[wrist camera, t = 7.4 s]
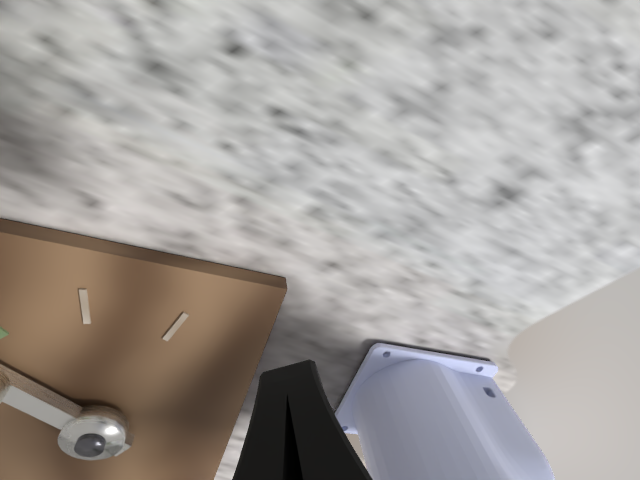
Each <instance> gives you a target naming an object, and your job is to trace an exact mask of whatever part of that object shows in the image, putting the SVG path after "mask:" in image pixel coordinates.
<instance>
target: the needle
mask: <svg viewBox="0 0 640 480" xmlns="http://www.w3.org/2000/svg"><path fill="white" fill-rule="evenodd" d="M1 402H4V403H6V404H8V405H10V406H12V407H14V408H17V409H19V410H21V411H23V412H25V413H27V414H29V415H31V416H33V417H35V418H37V419H39V420H41V421H43V422H46V423H48V424H50V425H52V426H54V427H56V428H58V429H60V430H61V432H60V434H59V436H58V445H59V447H60V448H61V450H62V451H64V452H65V453H66V454H68V455H70V456H72V457H75V458H78V459H83V460H101V459H105V458H109V457H111V456H118V455H119V454H121V453H122V452H124V451H126V450H127V449H129V448H130V447H132V443H133V439H134V436H135V435H134V434H132V433H130V432H128V429H129V421H128V419H127V417H126V416H125V415H124V414H123V413H121V412H120V411H118V410H116V409H114V408H110V407H106V406H96V405H95V406H86V407H81V406H79V405H77V404H75V403H73V402H71V401H69V400H68V399H66V398H64V397H62V396H60V395H58V394H56V393H54V392H52V391H51V390H49V389H47V388H45V387H43V386H41V385H39V384H37V383H36V382H34V381H32V380H30V379H28V378H26V377H24V376H22V375H20V374H19V373H17V372H15V371H13V370H11V369H9V368H7V367H5V366H3V365H2V364H0V404H1Z"/></svg>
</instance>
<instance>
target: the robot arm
mask: <svg viewBox="0 0 640 480" xmlns="http://www.w3.org/2000/svg"><path fill="white" fill-rule="evenodd" d="M386 351H387V352H386ZM384 352H386V353H384ZM497 371H498V367H497V365H496V364H495V363H494V362H490V361H484V360H478V359H472V358H466V357H460V356H454V355H448V354H443V353H437V352H431V351H425V350H419V349H413V348H407V347H401V346H395V345H389V344H383V343H377V344H374V345H373V346H372V347H371V348H370V350H369V352H368V354H367V355H366V357H365V359H364V361H363V363H362V365H361V366H360V368H359V370H358V372H357V374H356V376H355V377H354V379H353V381H352V383H351V385H350V387H349V388H348V390H347V392H346V394H345V396H344V398H343V400H342V401H341V403H340V405H339V407H338V409H337V411H336V412H335V414H334V412H333V410H332V408H331V406H330V404H329V402H328V399H327V397H326V395H325V393H324V390H323V387H322V383H321V380H320V377H319V374H318V371H317V367H316V364H315V362H314V361H312V360H307V361H303V362H299V363H296V364H292V365H288V366H285V367H281V368H277V369H274V370H270V371H266V372H263V373H262V375H261V376H260V380H259V386H258V391H257V395H256V400H255V404H254V408H253V412H252V416H251V420H250V424H249V428H248V431H247V435H246V438H245V441H244V445H243V448H242V451H241V455H240V458H239V461H238V464H237V468H236V471H235V473H234V476H233V479H232V480H555V477H554V474H553V472H552V469H551V467H550V465H549V462H548V460H547V459H546V457H545V455H544V453H543V452H542V450H541V449H540V447H539V446H538V445H537V443H536V442H535V440H534V439H533V437H532V436H531V434H530V433H529V431H528V430H527V429H526V427H525V425H524V424H523V423H522V421H521V419H520V418H519V417H518V415H517V414H516V412H515V411H514V409H513V408H512V406H511V405H510V403H509V402H508V400H507V399H506V397H505V396H504V395H503V393H502V392H501V390H500V389H499V387H498V386H497V384H496V383H495V381H494V380H493V377H494V375H495V374H496V373H497ZM345 433H351V434H358V436H359V440H360V444H361V448H362V451H363V455H364V459H365V463H366V467H367V470H366V468H365V466H364V465H363V463H362V462H361V460H360V458H359V457H358V455H357V454H356V452H355V450H354V449H353V447H352V445H351V444H350V442H349V440H348V438H347V436H346V435H345Z"/></svg>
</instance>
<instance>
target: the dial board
mask: <svg viewBox="0 0 640 480" xmlns="http://www.w3.org/2000/svg"><path fill="white" fill-rule="evenodd" d="M286 291H287V285H286V278H283V277H279V276H274V275H269V274H264V273H259V272H255V271H250V270H245V269H240V268H235V267H231V266H226V265H221V264H216V263H212V262H207V261H202V260H197V259H192V258H188V257H183V256H178V255H173V254H168V253H164V252H159V251H154V250H149V249H144V248H140V247H135V246H130V245H125V244H120V243H116V242H111V241H106V240H101V239H96V238H92V237H87V236H82V235H77V234H72V233H68V232H63V231H58V230H53V229H49V228H44V227H39V226H34V225H29V224H25V223H20V222H15V221H10V220H5V219H1V218H0V364H2V365H3V366H5V367H7V368H9V369H11V370H13V371H15V372H17V373H19V374H20V375H22V376H24V377H26V378H28V379H30V380H32V381H34V382H36V383H37V384H39V385H41V386H43V387H45V388H47V389H49V390H51V391H52V392H54V393H56V394H58V395H60V396H62V397H64V398H66V399H68V400H69V401H71V402H73V403H75V404H77V405H79V406H81V407H86V406H95V405H96V406H106V407H110V408H114V409H116V410H118V411H120V412H121V413H123V414H124V415H125V416H126V417H127V419H128V421H129V429H128V432H130V433H132V434H134V435H135V436H134V439H133V443H132V447H130V448H129V449H127V450H126V451H124V452H122V453H121V454H119V455H118V456H111V457H109V458H105V459H101V460H83V459H78V458H75V457H72V456H70V455H68V454H66V453H65V452H64V451H62V450H61V448H60V447H59V445H58V436H59V434H60V432H61V430H60V429H58V428H56V427H54V426H52V425H50V424H48V423H46V422H43V421H41V420H39V419H37V418H35V417H33V416H31V415H29V414H27V413H25V412H23V411H21V410H19V409H17V408H14V407H12V406H10V405H8V404H6V403H4V402H1V404H0V480H214V477H215V475H216V472H217V469H218V467H219V464H220V462H221V459H222V456H223V454H224V451H225V449H226V446H227V444H228V441H229V438H230V436H231V433H232V431H233V428H234V425H235V423H236V420H237V418H238V415H239V412H240V410H241V407H242V405H243V402H244V400H245V397H246V394H247V392H248V389H249V387H250V384H251V381H252V379H253V376H254V374H255V371H256V369H257V366H258V363H259V361H260V358H261V356H262V353H263V350H264V348H265V345H266V343H267V340H268V337H269V335H270V332H271V330H272V327H273V325H274V322H275V319H276V317H277V314H278V312H279V309H280V306H281V304H282V301H283V299H284V296H285V294H286Z"/></svg>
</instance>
